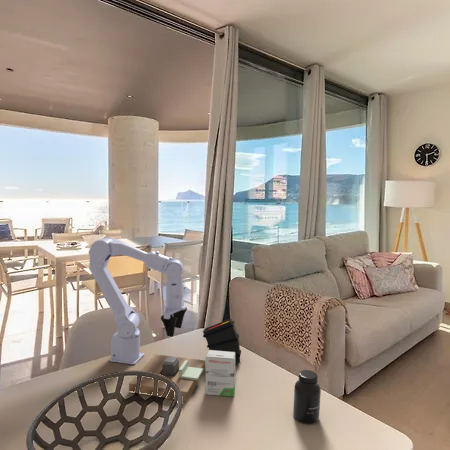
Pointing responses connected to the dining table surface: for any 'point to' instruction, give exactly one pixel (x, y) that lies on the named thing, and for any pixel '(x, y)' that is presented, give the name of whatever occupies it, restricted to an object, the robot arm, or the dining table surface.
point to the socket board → (156, 367)
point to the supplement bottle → (307, 397)
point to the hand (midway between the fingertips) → (174, 331)
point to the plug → (170, 366)
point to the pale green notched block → (189, 371)
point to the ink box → (220, 373)
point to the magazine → (223, 338)
